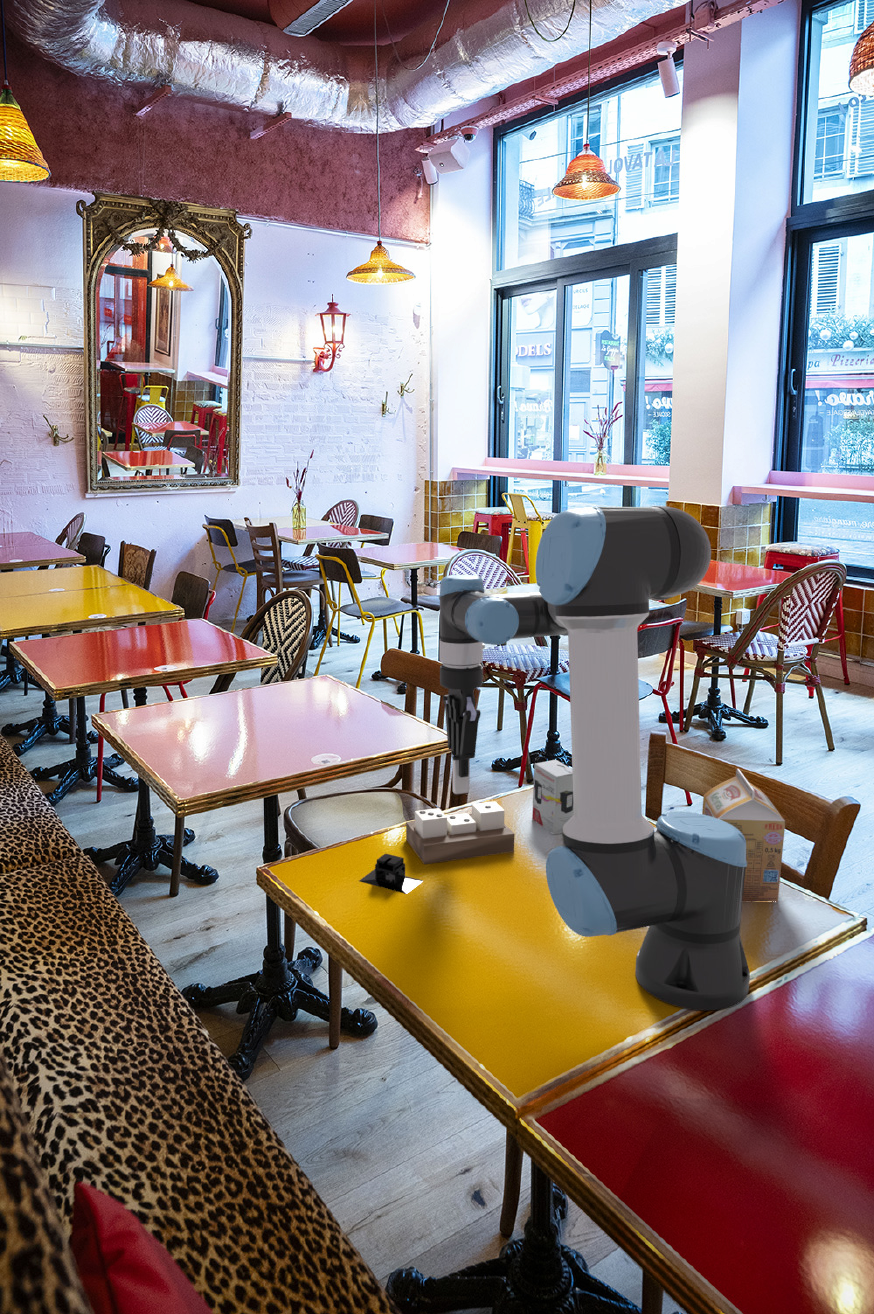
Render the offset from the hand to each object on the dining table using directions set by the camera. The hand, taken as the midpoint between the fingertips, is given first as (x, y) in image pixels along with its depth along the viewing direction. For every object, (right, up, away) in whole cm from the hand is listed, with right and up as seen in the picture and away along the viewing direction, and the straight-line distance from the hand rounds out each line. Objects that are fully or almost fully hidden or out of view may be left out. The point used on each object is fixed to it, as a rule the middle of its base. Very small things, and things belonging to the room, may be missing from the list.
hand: (461, 791), depth 171 cm
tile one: (+5, -8, +4) cm, 10 cm away
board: (0, -10, +3) cm, 11 cm away
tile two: (0, -10, +3) cm, 10 cm away
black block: (-12, -14, -11) cm, 22 cm away
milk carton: (+46, -14, -13) cm, 49 cm away
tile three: (-5, -8, +1) cm, 10 cm away
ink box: (+18, -8, +12) cm, 24 cm away
